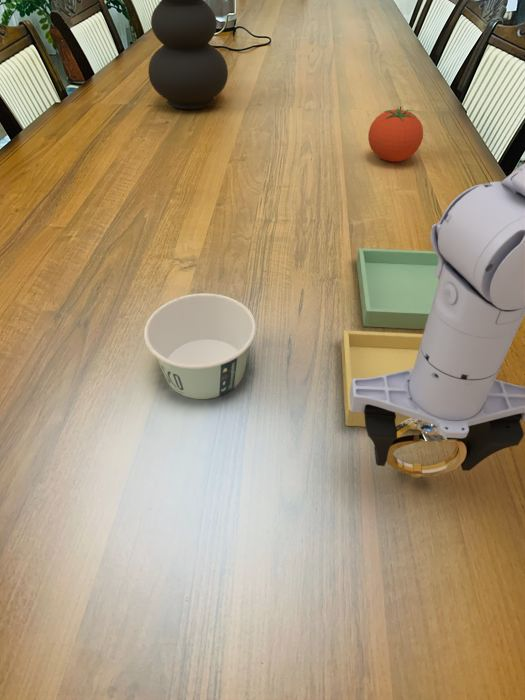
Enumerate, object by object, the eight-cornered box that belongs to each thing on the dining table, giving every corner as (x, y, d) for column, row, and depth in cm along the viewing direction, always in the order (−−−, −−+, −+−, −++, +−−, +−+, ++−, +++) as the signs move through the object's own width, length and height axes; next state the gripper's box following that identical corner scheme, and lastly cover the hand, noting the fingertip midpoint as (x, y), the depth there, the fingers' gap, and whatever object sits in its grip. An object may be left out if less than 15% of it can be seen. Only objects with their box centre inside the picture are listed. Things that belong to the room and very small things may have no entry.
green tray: (454, 267, 74) (459, 252, 72) (477, 332, 64) (483, 316, 62) (356, 263, 75) (358, 248, 73) (363, 326, 65) (366, 310, 63)
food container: (277, 366, 59) (279, 323, 55) (203, 427, 53) (197, 385, 48) (206, 321, 65) (202, 279, 61) (131, 372, 59) (120, 329, 54)
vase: (220, 119, 117) (209, -81, 92) (142, 114, 119) (112, -83, 94) (235, 93, 130) (229, -88, 105) (165, 89, 132) (144, -89, 107)
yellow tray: (442, 351, 61) (448, 335, 60) (464, 432, 53) (471, 416, 51) (340, 346, 62) (343, 330, 60) (345, 425, 53) (348, 409, 51)
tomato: (354, 154, 103) (361, 102, 96) (395, 145, 106) (404, 94, 99) (386, 174, 96) (395, 120, 89) (428, 164, 99) (440, 110, 93)
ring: (452, 464, 49) (476, 411, 43) (455, 494, 47) (481, 441, 41) (378, 454, 50) (392, 400, 44) (378, 482, 47) (393, 430, 42)
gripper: (364, 387, 35) (342, 493, 44) (584, 398, 34) (514, 503, 43) (357, 319, 40) (339, 427, 49) (549, 328, 39) (493, 436, 48)
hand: (420, 458), depth 46 cm, fingers closed on ring, 7 cm apart
